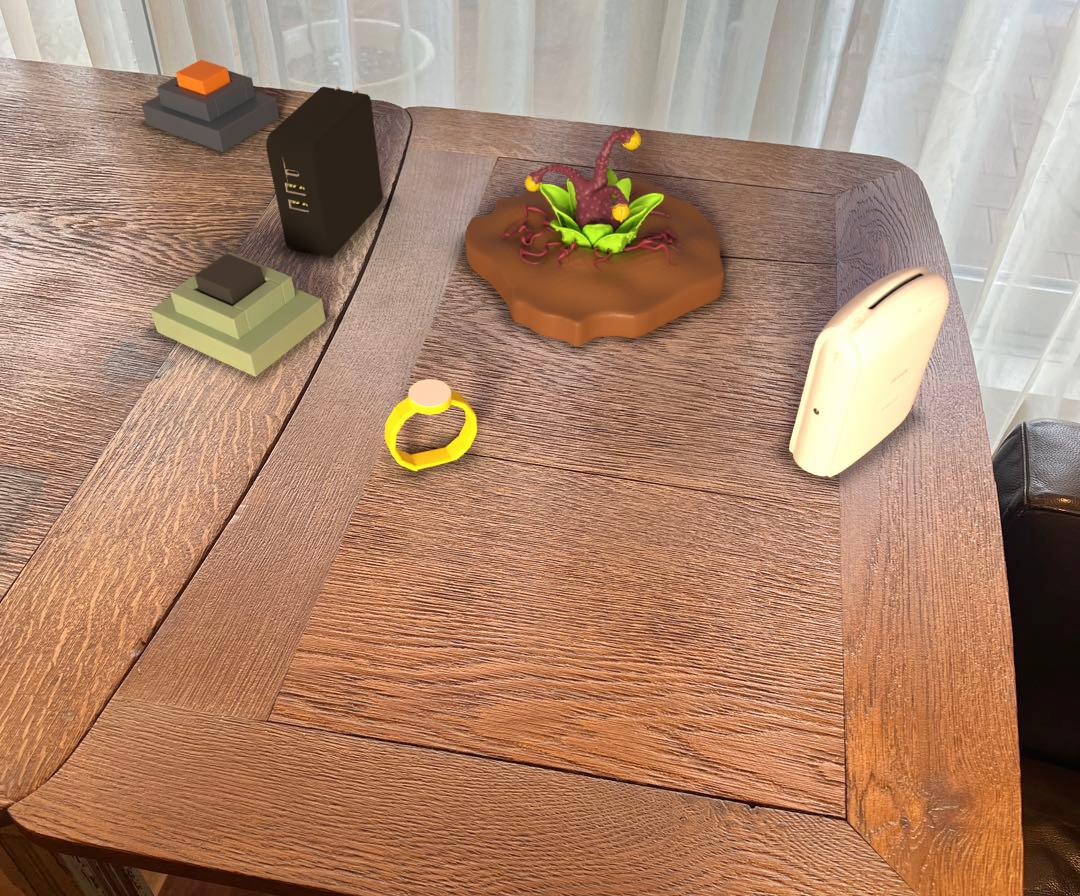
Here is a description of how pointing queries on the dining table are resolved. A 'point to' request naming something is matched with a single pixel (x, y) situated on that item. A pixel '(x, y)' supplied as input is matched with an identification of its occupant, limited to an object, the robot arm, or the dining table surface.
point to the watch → (430, 401)
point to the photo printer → (867, 369)
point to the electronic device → (325, 170)
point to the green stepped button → (241, 321)
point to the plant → (596, 253)
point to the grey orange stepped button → (212, 112)
